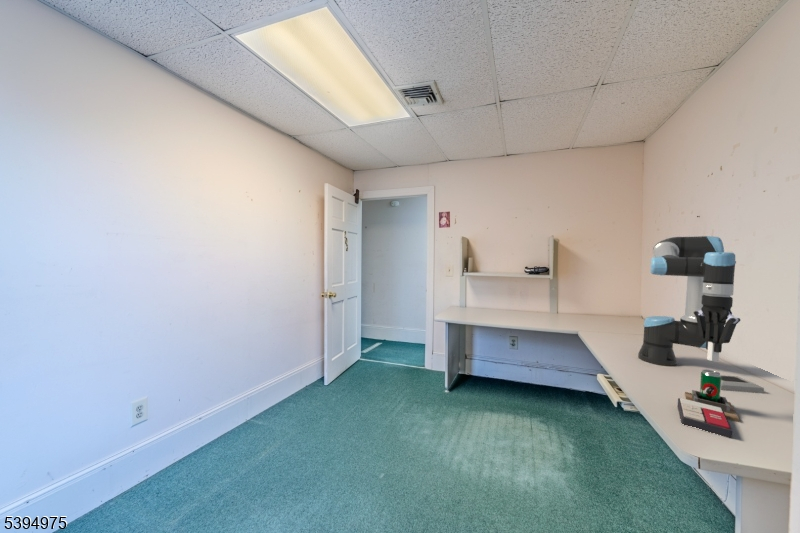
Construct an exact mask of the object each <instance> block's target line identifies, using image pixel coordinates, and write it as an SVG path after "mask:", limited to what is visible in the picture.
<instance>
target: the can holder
mask: <svg viewBox="0 0 800 533" xmlns="http://www.w3.org/2000/svg"><path fill="white" fill-rule="evenodd" d="M684 396H685V399H687V400H691V401H695V402H699V403H703V404H707V405H711V406H716V407H720V408H721V409H723V411H724V413H725V416H726V418H727V420H728V421H729V420H731V421H733V422H737V423H740V417H739V416H738V414H737V412H736V410H735V408H734V407H733V404H732V403H731V402H730V401H728V400H727V397H726V396H721V395H720V403H717V402H712V401H708V400H704V399H700V390H698V391H697V390H694V389H692V390H691V392H687V391H685V392H684Z"/></svg>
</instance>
